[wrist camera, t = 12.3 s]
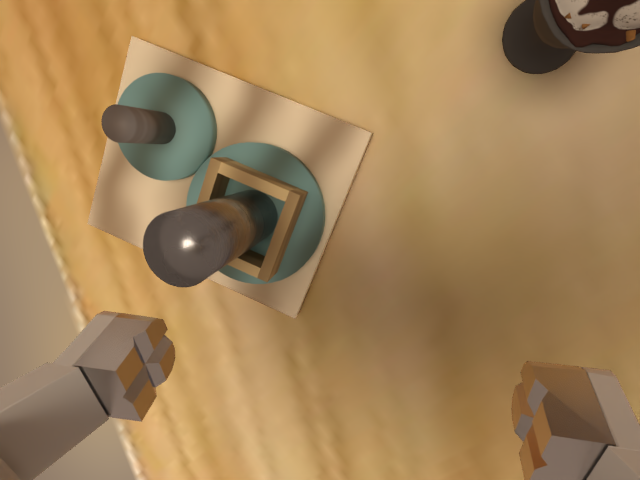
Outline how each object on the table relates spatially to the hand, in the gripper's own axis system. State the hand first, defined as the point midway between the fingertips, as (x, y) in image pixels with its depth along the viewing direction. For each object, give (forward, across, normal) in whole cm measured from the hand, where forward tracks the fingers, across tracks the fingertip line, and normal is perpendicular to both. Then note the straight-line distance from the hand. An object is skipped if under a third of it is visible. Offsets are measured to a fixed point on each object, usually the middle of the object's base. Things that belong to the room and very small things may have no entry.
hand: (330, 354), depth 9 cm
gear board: (+22, +13, +7) cm, 27 cm away
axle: (+19, +10, +8) cm, 23 cm away
